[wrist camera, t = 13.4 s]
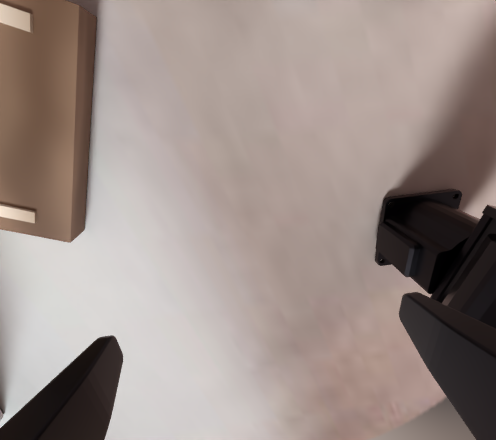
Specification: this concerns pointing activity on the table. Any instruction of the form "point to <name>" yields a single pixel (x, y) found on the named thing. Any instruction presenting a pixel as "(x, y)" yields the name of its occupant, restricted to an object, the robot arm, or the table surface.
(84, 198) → the dock
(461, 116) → the table surface
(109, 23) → the table surface
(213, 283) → the table surface
